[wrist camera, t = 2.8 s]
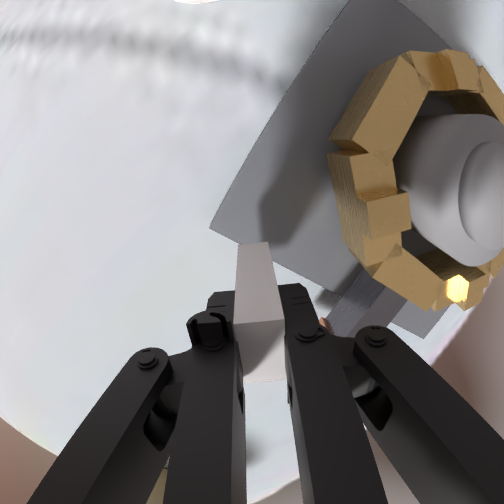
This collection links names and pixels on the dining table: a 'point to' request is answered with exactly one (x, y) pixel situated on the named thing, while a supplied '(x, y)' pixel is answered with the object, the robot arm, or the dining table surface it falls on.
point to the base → (404, 161)
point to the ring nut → (399, 190)
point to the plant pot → (158, 489)
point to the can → (195, 1)
